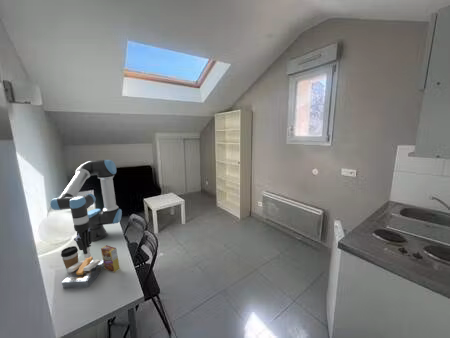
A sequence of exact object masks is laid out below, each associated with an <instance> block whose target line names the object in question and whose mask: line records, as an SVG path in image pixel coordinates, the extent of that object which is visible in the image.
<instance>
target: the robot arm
mask: <svg viewBox="0 0 450 338" xmlns="http://www.w3.org/2000/svg"><path fill="white" fill-rule="evenodd" d="M74 173H75V174H74V176H73V177H72V179H71V180H70V182H69V183H68V184H67V186H66V187H65V189H64V191H63V192H61V195H60V196H58V197H55V198H52V199H51V200H50V208H51V209H52V210H53V211H62V210H64V211H65V210H70V213H71V218H72V224H73V228H74V231H75V232H76V237H75V238H73V240H74V241H75V243H76V245H77V248H78V249H79V250H78V251H82V252H83V253H82V254H83V257H84V259H86V258H90V257H92V255H91V249H90V248H91V247H92V242H97V241H100V240H102V239H104V238H106V237H107V235H108V233H107V230H106V228H105V227H104V225H114V224H119V223H120V221H121V219H122V217H123V216H122V215H123V213H122V212H123V211H122V209H121V208H119V206H118V205H117V201H116V194H115V193H116V192H115V187H114V180H113V179H114V177H115V175H116V174H117V166H116V163H115V162H114V161H113V160H112V159H100V160H99V159H97V160H95V159H94V160H88V161H86V162H84V163H82V164H80V166H78V167H77V168H76V170H75V172H74ZM91 176H97V179H99V180H100V187H101V188H100V189H101V195H102V200H103V208H102V210H101V208H95V209H91V210H88V209H89V208H90V207H91V206H93V205H94V204H95V202H96V200H97V199H96V196H95V195H94V194H92V193H87V194H84V195H79V196H78V194H79V192H80V191H81V189H82V187H83V185H84V184H85V182H86V180H88V179H89V178H90V177H91Z"/></svg>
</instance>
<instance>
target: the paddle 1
mask: <svg viewBox="0 0 450 338" xmlns="http://www.w3.org/2000/svg"><path fill="white" fill-rule="evenodd" d="M84 260H85V259H84ZM84 260H78V263H76V264H74V265H73V266H71V267H69V268H68V272H73V271H75V270H76V269H78V268H79V267H80V266H81V265H82V263H83V262H84Z"/></svg>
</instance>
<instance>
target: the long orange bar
mask: <svg viewBox="0 0 450 338" xmlns="http://www.w3.org/2000/svg"><path fill="white" fill-rule="evenodd" d="M93 260H94V258H93V256H91V257H90V258H84V262H83V263H82V265H81V266H80V268H79V269H78V271H77V272H76V274H77V275H83V273H84V272H85V271H84V267H86V266H87V265H88V264H90V262H91V261H93Z"/></svg>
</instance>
